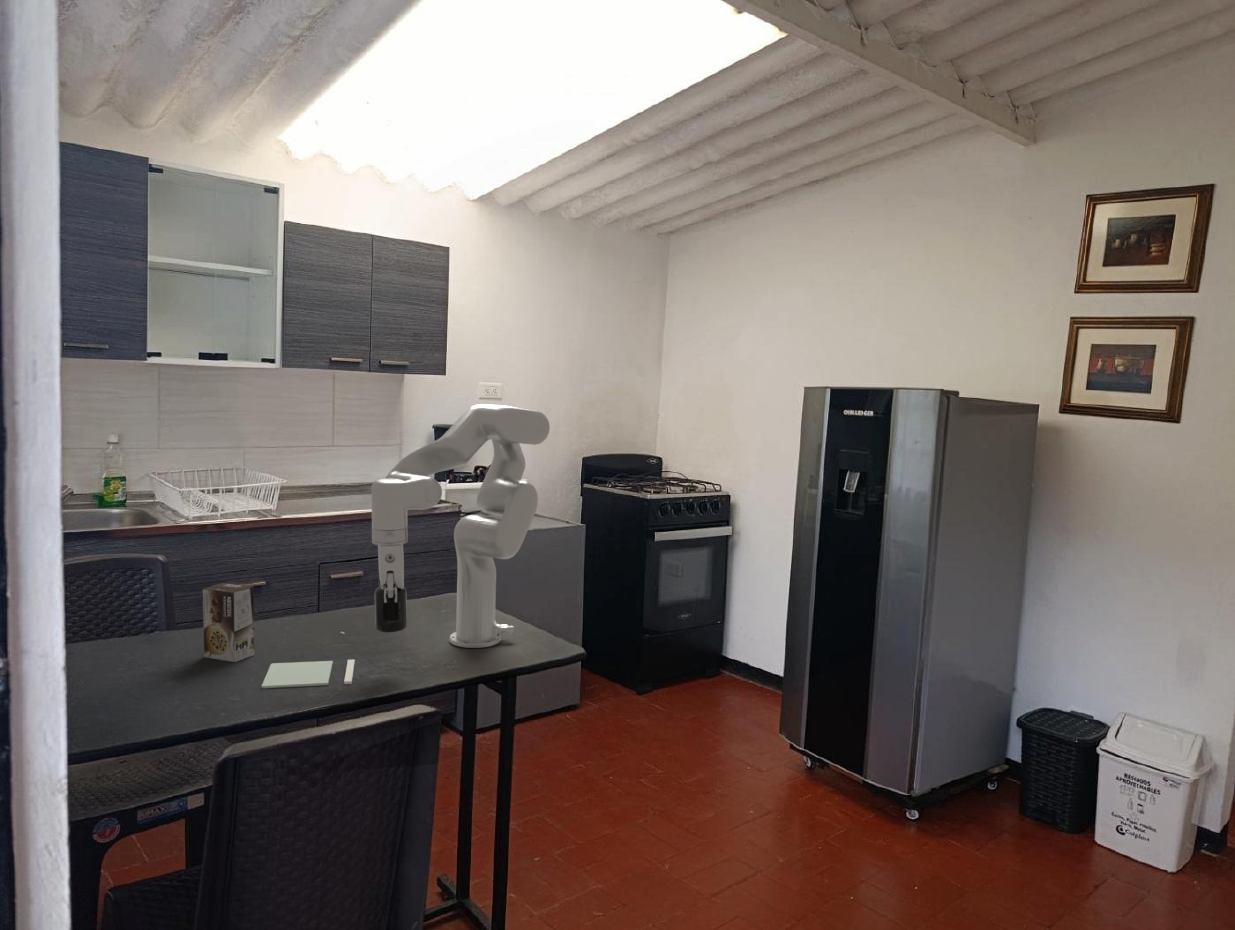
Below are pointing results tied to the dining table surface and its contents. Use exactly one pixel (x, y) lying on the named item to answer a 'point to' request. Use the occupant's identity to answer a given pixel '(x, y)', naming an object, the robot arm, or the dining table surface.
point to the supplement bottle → (402, 606)
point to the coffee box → (228, 622)
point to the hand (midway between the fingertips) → (391, 613)
